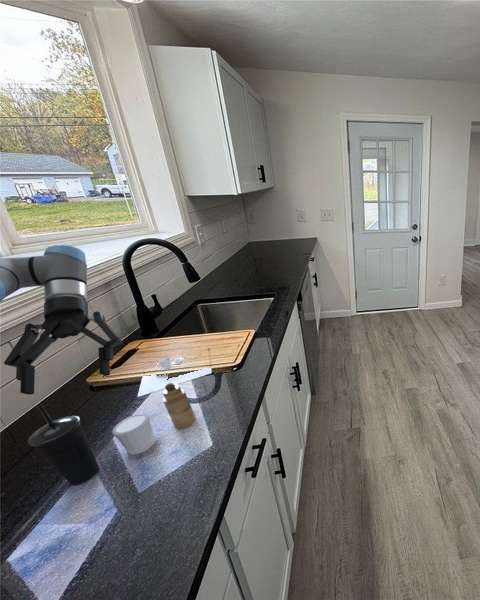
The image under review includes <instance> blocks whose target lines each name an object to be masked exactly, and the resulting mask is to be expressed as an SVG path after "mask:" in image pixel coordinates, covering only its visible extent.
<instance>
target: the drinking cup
mask: <svg viewBox="0 0 480 600" xmlns="http://www.w3.org/2000/svg"><path fill="white" fill-rule="evenodd" d="M36 408H37V410H38V411H39V412H40V414H41V415H42V417H43V418H44V420H45V422H46V424H44V425H42V426H41V427H40V428H38V429H36V430H35V431H34V432H33V433H32V434H31V435H30V436H29V438H28V440H27V442H28V445H29V446H31V447H34V448H35V449H36V450H37V451H38V452H39V453H40V454H41V455H42V456H43V457H44V458H45V459H46V460H47V461H48V462H49V463H50V464H51V465H52V466H53V467H54V468H55V470H57V472H58V473H60V475H61V476H62V477H63V478H64V479H65V480H66V481H67V482H68V483H69V484H70V485H71V486H78V485H79V486H80V485H81V484H85V483H86V482H89V481H90V480H91V479H92V478H94V477H95V476H96V475H97V474H98V473H99V471H100V467H99V464H98V462H97V460H96V457H95V454H94V452H93V450H92V447H91V444H90V443H89V441H88V437H87V436H86V434H85V431H84V429H83V426H82V424H81V421H82V419H81V418H80V416H77V415H69V416H64V417H60V418H58V419H55V420H53V419H52V418H51V417H50V416H49V414H48V412H47V411H46V409H45V408H44V406H43V405H42V403H39V404H37V405H36Z"/></svg>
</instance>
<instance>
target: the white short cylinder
mask: <svg viewBox="0 0 480 600" xmlns="http://www.w3.org/2000/svg"><path fill="white" fill-rule="evenodd" d="M111 433H112V434H113V435H114V436H115V438H116V439H117V440H118V442H119V443H120V444H121V446H122V447H123V448H124V450H126V452H127V454H128V455H132V456H134V455H138V454H141V453H145V452H146V451H147V450H149V449H150V448H151V447H153V445H154V444H155V443H156V442H157V441H156V439H157V438H156V434H155V432H154V429H153V426H152V422H151V419H150V416H149V415H148V414H147V413H136V414H133V415H130V416H128V417H126V418H124V419H122V420H120V422H117V424H116V425H115V426H114V427H113V429H112V431H111Z"/></svg>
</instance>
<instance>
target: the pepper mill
mask: <svg viewBox="0 0 480 600" xmlns="http://www.w3.org/2000/svg"><path fill="white" fill-rule="evenodd" d="M162 394H163V397H162V402H163V404H164V406H165V408H166V411H167V413H168V415H169V418H170V420H171V422H172V425H173V426H174V428H175V429H176V428H177V430H183V429H186V428H188V427H191V425H193V424H194V423H195V422H196V420H197V417H196V415H195V413H194V409H193V407H192V405H191V403H190V401H189V398H188V396H187V393H186V391H185V390H184V389H182V388H181V387H180V385H179V384H176V385H174V384H173V383H169V384H167V385H166V387H165V388H164V389H162Z"/></svg>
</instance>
